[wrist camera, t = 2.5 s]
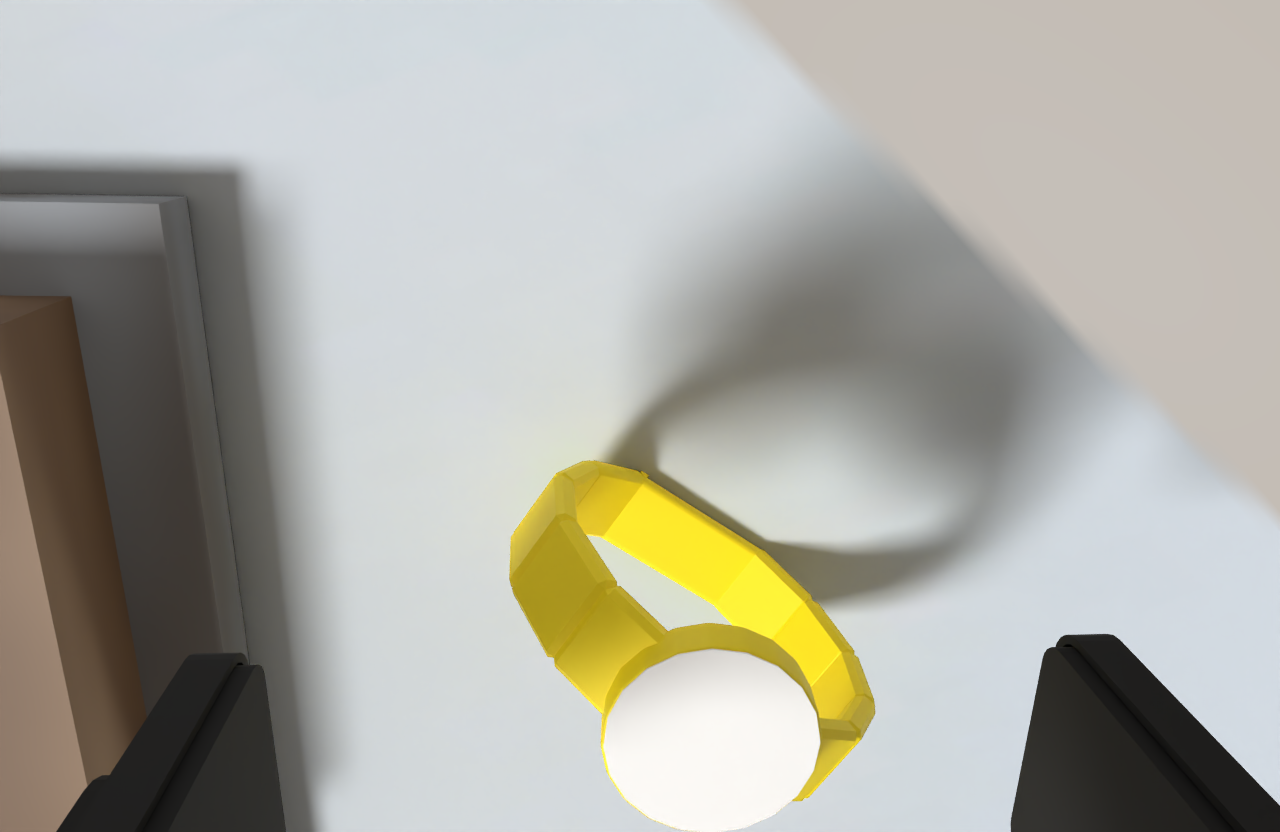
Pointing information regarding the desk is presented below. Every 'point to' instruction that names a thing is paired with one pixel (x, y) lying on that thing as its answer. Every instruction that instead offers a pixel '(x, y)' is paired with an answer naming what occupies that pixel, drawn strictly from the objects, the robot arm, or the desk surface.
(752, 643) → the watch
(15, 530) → the frame
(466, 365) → the desk surface
